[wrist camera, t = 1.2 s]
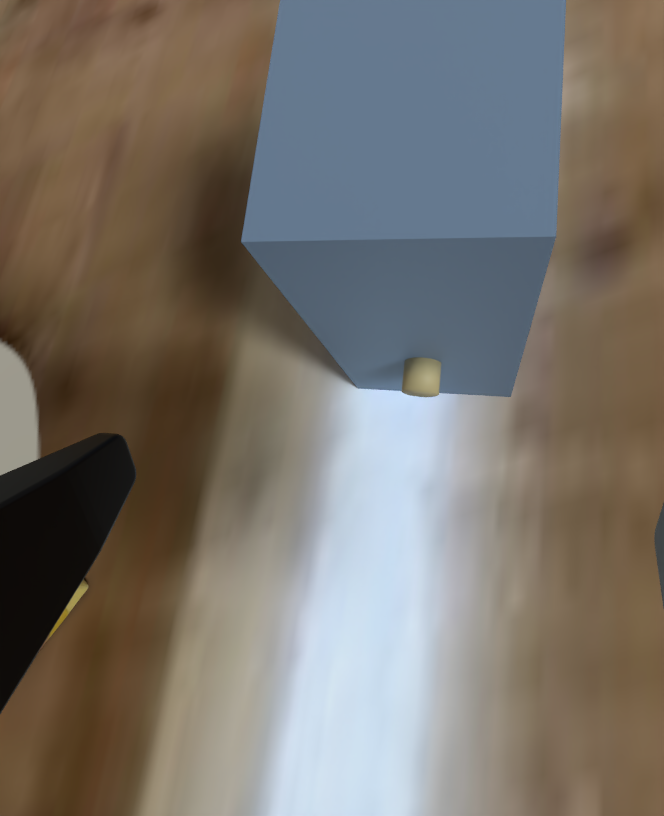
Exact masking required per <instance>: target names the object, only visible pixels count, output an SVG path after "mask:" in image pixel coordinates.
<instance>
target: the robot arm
mask: <svg viewBox="0 0 664 816" xmlns="http://www.w3.org/2000/svg"><path fill="white" fill-rule="evenodd" d="M135 479H136V468H135V465H134V462H133V459H132V456H131V454H130V451H129V448H128V445H127V442H126V440H125V439H124V437H123V436H121V435H119V434H111V433H99V434H96V435H94V436H91V437H89V438H87V439H84V440H82V441H80V442H77V443H75V444H73V445H70V446H68V447H66V448H63V449H61V450H59V451H57V452H54V453H52V454H50V455H47V456H45V457H43V458H40V459H38V460H36V461H33V462H31V463H29V464H26V465H24V466H22V467H19V468H17V469H15V470H12V471H10V472H8V473H5V474H3V475H1V476H0V714H1V712H2V710H3V709H4V707H5V706H6V704H7V702H8V701H9V699H10V697H11V696H12V694H13V693H14V691H15V689H16V688H17V686H18V684H19V683H20V681H21V680H22V678H23V676H24V675H25V673H26V672H27V670H28V668H29V667H30V665H31V663H32V662H33V660H34V659H35V657H36V655H37V654H38V652H39V650H40V649H41V647H42V646H43V644H44V642H45V641H46V639H47V638H48V636H49V634H50V633H51V631H52V629H53V628H54V626H55V625H56V623H57V621H58V620H59V618H60V616H61V615H62V613H63V612H64V610H65V608H66V607H67V605H68V604H69V602H70V600H71V599H72V597H73V595H74V594H75V592H76V591H77V589H78V587H79V586H80V584H81V583H82V581H83V579H84V578H85V576H86V574H87V573H88V571H89V570H90V568H91V566H92V565H93V563H94V561H95V560H96V558H97V556H98V555H99V553H100V551H101V549H102V547H103V545H104V543H105V542H106V540H107V538H108V536H109V534H110V531H111V529H112V527H113V525H114V523H115V521H116V519H117V517H118V515H119V513H120V511H121V509H122V507H123V505H124V503H125V501H126V499H127V497H128V495H129V493H130V491H131V489H132V487H133V484H134V482H135ZM655 550H656V557H657V564H658V571H659V578H660V585H661V593H662V600H663V607H664V503H663V507H662V510H661V513H660V516H659V519H658V523H657V526H656V529H655Z"/></svg>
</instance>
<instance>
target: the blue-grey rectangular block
mask: <svg viewBox="0 0 664 816" xmlns="http://www.w3.org/2000/svg"><path fill="white" fill-rule="evenodd" d="M565 11H566V0H280V5H279V11H278V17H277V23H276V30H275V36H274V42H273V48H272V54H271V60H270V66H269V73H268V79H267V85H266V91H265V97H264V103H263V110H262V116H261V122H260V128H259V134H258V140H257V147H256V153H255V159H254V165H253V171H252V177H251V184H250V190H249V196H248V202H247V208H246V214H245V221H244V227H243V233H242V239H241V242H242V244H243V245H244V246H245V247H246V249H247V250H248V251H249V252H250V254H251V255H252V256H253V257H254V259H255V260H256V261H257V263H258V264H259V265H260V266H261V268H262V269H263V270H264V271H265V273H266V274H267V275H268V276H269V278H270V279H271V280H272V281H273V283H274V284H275V285H276V286H277V288H278V289H279V290H280V291H281V293H282V294H283V295H284V296H285V298H286V299H287V300H288V301H289V303H290V304H291V305H292V306H293V308H294V309H295V310H296V311H297V313H298V314H299V315H300V316H301V318H302V319H303V320H304V321H305V323H306V324H307V325H308V326H309V328H310V329H311V330H312V331H313V333H314V334H315V335H316V337H317V338H318V339H319V340H320V342H321V343H322V344H323V345H324V347H325V348H326V349H327V350H328V352H329V353H330V354H331V355H332V357H333V358H334V359H335V360H336V362H337V363H338V364H339V365H340V367H341V368H342V369H343V370H344V372H345V373H346V374H347V375H348V377H349V378H350V379H351V380H352V382H353V383H354V384H355V385H356V387H357V388H361V389H379V390H397V391H402V392H403V393H405V394H407V395H411V396H418V397H433V396H437V395H439V393H450V394H468V395H486V396H504V397H511V393H512V390H513V386H514V383H515V379H516V376H517V372H518V369H519V365H520V362H521V358H522V355H523V351H524V348H525V344H526V341H527V337H528V334H529V330H530V327H531V323H532V319H533V316H534V312H535V309H536V305H537V302H538V298H539V295H540V291H541V288H542V284H543V281H544V277H545V274H546V270H547V267H548V263H549V260H550V256H551V252H552V249H553V245H554V242H555V238H556V226H557V202H558V178H559V154H560V130H561V106H562V83H563V59H564V35H565Z"/></svg>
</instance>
